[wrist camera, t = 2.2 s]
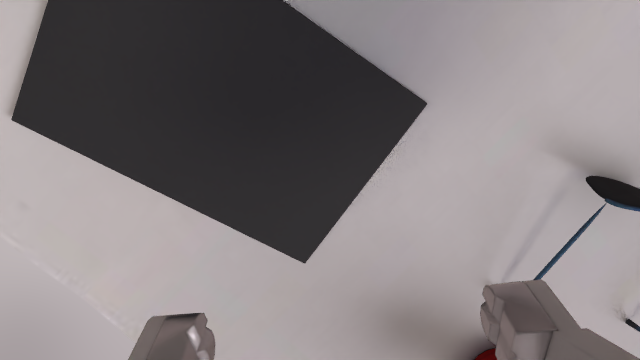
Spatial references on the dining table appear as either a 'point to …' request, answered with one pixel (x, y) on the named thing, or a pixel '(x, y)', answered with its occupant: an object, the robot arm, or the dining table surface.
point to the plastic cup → (487, 355)
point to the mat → (218, 108)
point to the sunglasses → (613, 195)
